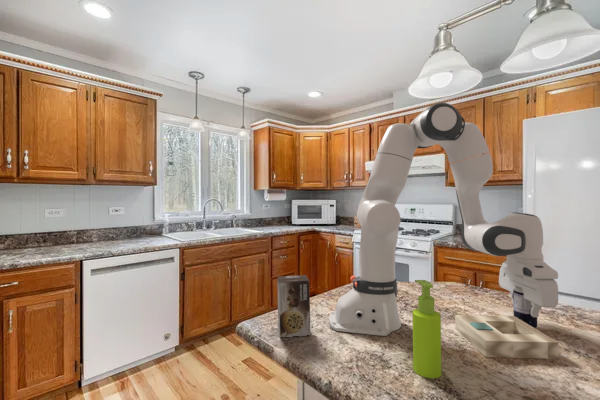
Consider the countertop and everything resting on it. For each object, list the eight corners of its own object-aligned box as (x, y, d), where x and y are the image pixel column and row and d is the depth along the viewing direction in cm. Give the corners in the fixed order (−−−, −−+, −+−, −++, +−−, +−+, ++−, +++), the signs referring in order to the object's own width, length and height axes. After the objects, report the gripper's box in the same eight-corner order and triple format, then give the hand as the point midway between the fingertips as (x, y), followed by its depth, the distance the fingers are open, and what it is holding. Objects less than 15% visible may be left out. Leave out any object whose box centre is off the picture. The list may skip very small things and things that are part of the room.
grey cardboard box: (306, 326, 89) (306, 274, 89) (310, 336, 83) (310, 280, 83) (277, 328, 88) (276, 275, 88) (279, 338, 81) (278, 281, 81)
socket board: (485, 357, 71) (485, 339, 71) (455, 328, 87) (455, 313, 87) (558, 358, 70) (558, 341, 70) (514, 329, 86) (514, 314, 86)
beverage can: (541, 331, 84) (541, 290, 84) (519, 330, 85) (519, 289, 85) (530, 323, 90) (530, 285, 90) (509, 322, 91) (509, 284, 91)
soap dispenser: (431, 360, 70) (430, 277, 70) (446, 378, 63) (445, 286, 63) (407, 361, 69) (406, 278, 69) (420, 378, 62) (419, 286, 62)
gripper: (493, 259, 98) (493, 299, 98) (538, 274, 78) (539, 325, 78) (512, 259, 98) (513, 299, 98) (563, 274, 77) (564, 326, 77)
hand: (525, 311), depth 87 cm, fingers closed on beverage can, 6 cm apart
